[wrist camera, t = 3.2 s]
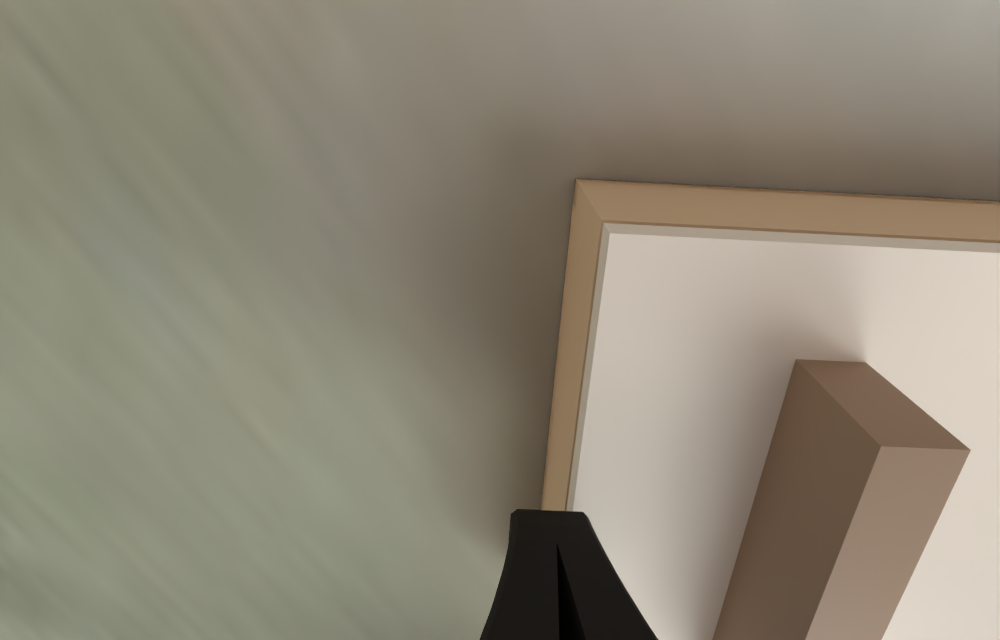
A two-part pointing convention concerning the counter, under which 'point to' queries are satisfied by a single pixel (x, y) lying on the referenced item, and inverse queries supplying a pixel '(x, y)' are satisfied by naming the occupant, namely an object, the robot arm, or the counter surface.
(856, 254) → the box lid
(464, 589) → the counter surface
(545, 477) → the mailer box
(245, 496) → the counter surface
